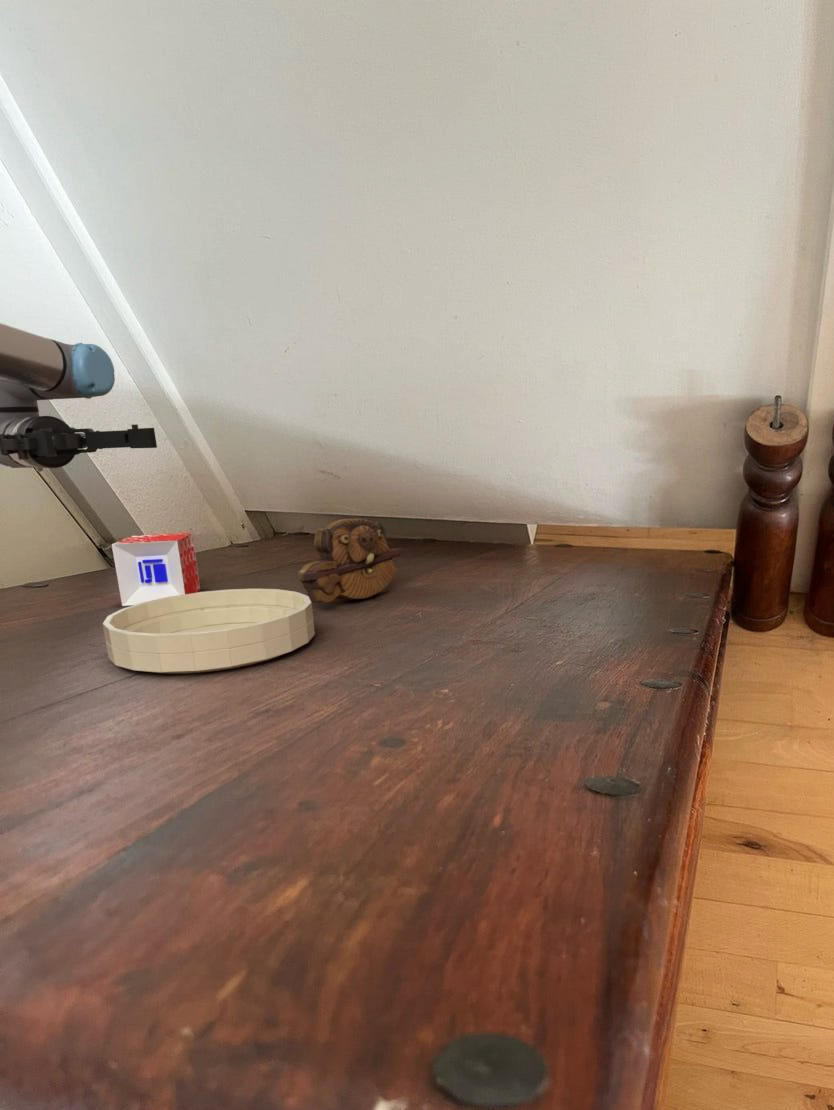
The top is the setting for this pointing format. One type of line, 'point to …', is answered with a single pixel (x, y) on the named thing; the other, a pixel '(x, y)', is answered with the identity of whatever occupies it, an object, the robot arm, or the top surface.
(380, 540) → the wooden carving
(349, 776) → the top surface
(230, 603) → the bowl
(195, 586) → the red boxy piece
